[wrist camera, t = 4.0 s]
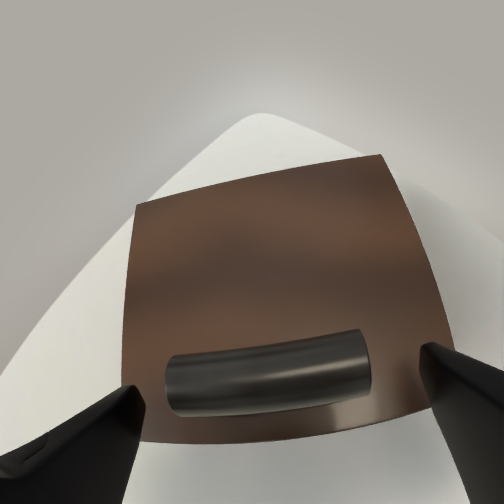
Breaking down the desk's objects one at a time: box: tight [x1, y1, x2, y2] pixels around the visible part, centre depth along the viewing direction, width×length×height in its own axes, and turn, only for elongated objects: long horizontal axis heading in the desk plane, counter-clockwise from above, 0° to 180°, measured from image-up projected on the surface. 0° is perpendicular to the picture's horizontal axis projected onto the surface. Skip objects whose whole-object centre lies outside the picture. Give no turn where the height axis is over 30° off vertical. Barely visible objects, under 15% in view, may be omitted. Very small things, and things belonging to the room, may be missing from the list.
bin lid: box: [121, 154, 455, 444], centre depth 11 cm, size 12×13×5 cm
